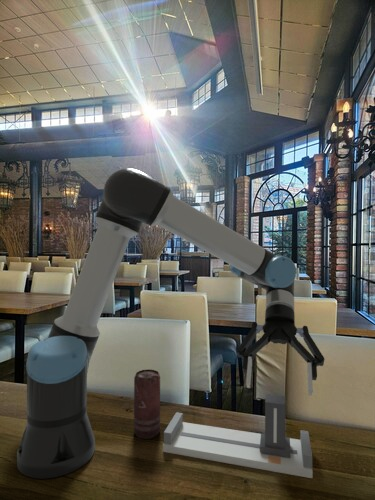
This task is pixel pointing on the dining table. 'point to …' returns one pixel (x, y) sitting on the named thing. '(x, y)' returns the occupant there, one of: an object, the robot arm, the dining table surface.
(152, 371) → the can
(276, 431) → the fader knob
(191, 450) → the fader base
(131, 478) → the dining table surface
